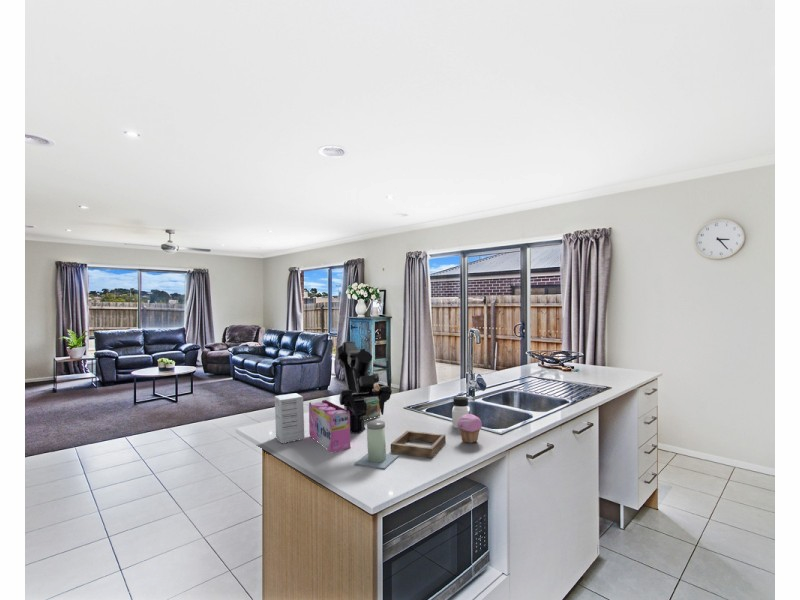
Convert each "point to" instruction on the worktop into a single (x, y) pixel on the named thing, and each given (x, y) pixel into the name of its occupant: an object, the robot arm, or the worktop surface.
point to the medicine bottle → (459, 409)
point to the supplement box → (289, 417)
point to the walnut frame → (402, 448)
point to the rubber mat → (381, 465)
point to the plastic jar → (376, 441)
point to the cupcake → (469, 427)
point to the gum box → (329, 425)
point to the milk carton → (372, 405)
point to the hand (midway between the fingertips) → (370, 415)
